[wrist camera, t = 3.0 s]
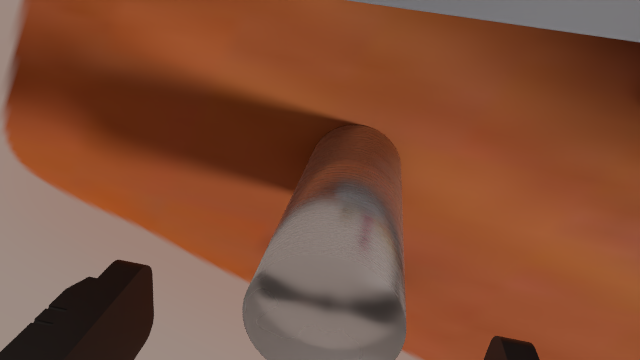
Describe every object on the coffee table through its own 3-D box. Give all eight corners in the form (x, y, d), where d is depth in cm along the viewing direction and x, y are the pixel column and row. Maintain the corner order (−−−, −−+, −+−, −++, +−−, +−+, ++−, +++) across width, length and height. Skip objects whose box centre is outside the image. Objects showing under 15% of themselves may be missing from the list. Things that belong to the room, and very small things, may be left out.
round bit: (409, 133, 19) (423, 273, 10) (391, 215, 21) (388, 399, 12) (316, 117, 19) (247, 239, 10) (306, 199, 21) (238, 366, 12)
